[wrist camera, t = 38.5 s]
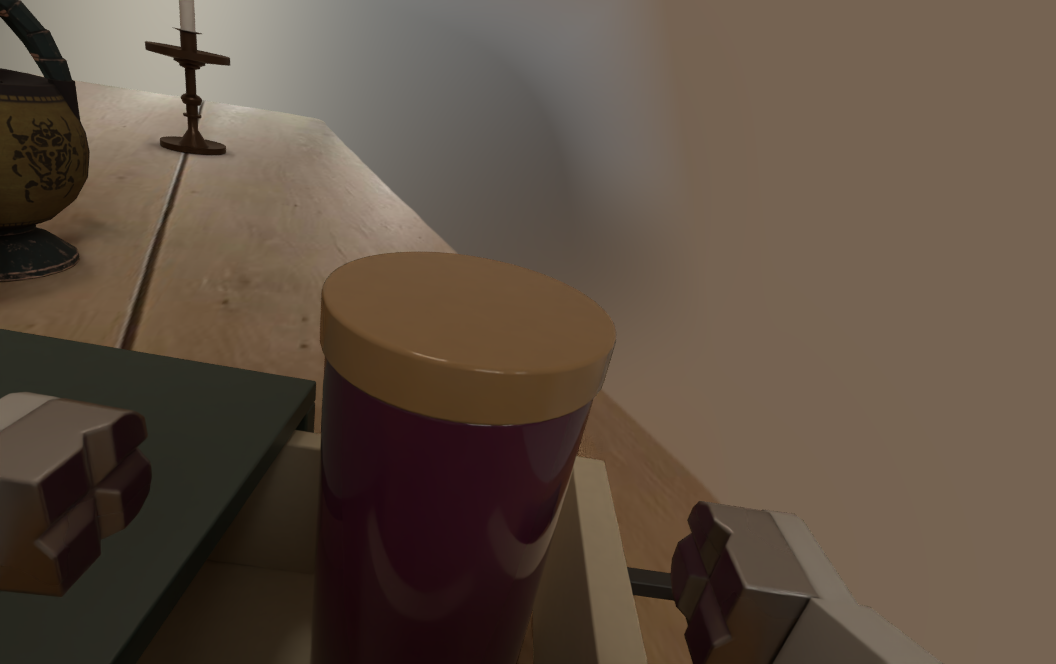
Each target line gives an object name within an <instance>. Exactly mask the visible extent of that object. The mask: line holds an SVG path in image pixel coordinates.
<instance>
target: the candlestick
mask: <svg viewBox="0 0 1056 664" xmlns="http://www.w3.org/2000/svg"><path fill="white" fill-rule="evenodd" d="M179 5H180V6H179V7H180V26H181V29H178V28H175V29H177V30H179V31H180V41H181V47H178V46H173V45H167V44H161V43H155V42H147V41H146V42H145V46H146V50H148V51H152V52H155V53H159V54H163V55H166V56H170V57H173V58H174V60H175V61H177V62H178V63H179V65H180V66H182V67H184V68H185V78H186V93H185V94H183V95H182V96H181V99H182V101H183V103H185V104H186V111H187V113H183V115H184V116H186V117H188V130H187V131H186V133H185V134H184V136H183V137H162V138H160V145H161V146H162V147H164V148H167V149H170V150H174V151H179V152H185V153H192V154H202V155H221V154H225V153H226V146H225V145H223V144H221V143H218V142H214V141H209V140H204V138H203V137H202V135H201V134H200V132H199V131H198V118H201V115H198V106H200V105H201V103H202V99H201V98H200V97H199V96H197V95H196V78H195V70H197V69H200V67H202V66H205V64H217V65H228V66H229V65H230V58H229V57H226V56H222V55H217V54H213V53H208V52H204V51H199V50H197V39H196V34H201V33H197V32H195V13H194V0H179Z"/></svg>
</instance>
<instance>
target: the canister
mask: <svg viewBox="0 0 1056 664" xmlns="http://www.w3.org/2000/svg"><path fill="white" fill-rule="evenodd" d="M615 343H616V330H615V326H614V323H613V321H612V320H611V318H610V316H609V315H608V314H607V313H606V311H605V310H604V309H603V308H602V307H601V306H600V305H598V304H597V303H596V302H595V301H593V300H592V299H591V298H589V297H588V296H586V295H585V294H583V293H582V292H580V291H578V290H576V289H575V288H573V287H571V286H569V285H567V284H565V283H563V282H560V281H558V280H556V279H554V278H551V277H549V276H546V275H544V274H541V273H538V272H535V271H532V270H529V269H526V268H523V267H519V266H516V265H512V264H508V263H504V262H500V261H495V260H491V259H486V258H480V257H475V256H468V255H461V254H452V253H440V252H396V253H387V254H379V255H373V256H368V257H364V258H360V259H357V260H354V261H351V262H348V263H346V264H344V265H342V266H340V267H338V268H337V269H336V270H334V271H333V272H332V273H331V274H330V275H329V276H328V278H327V279H326V280H325V282H324V285H323V288H322V293H321V315H320V344H321V347H322V351H323V353H324V355H325V359H324V379H323V399H322V420H321V440H320V460H319V481H318V501H317V521H316V541H315V562H314V582H313V602H312V623H311V643H310V663H309V664H517V661H518V658H519V654H520V651H521V647H522V644H523V641H524V637H525V634H526V630H527V627H528V623H529V620H530V616H531V613H532V609H533V606H534V603H535V599H536V596H537V592H538V589H539V585H540V582H541V578H542V575H543V571H544V568H545V565H546V561H547V558H548V554H549V551H550V547H551V544H552V540H553V537H554V533H555V530H556V527H557V523H558V520H559V516H560V513H561V509H562V506H563V502H564V499H565V496H566V492H567V489H568V485H569V482H570V478H571V475H572V471H573V468H574V464H575V461H576V458H577V454H578V451H579V447H580V444H581V440H582V437H583V433H584V430H585V426H586V423H587V420H588V416H589V413H590V409H591V406H592V402H593V399H594V397H595V396H596V395H597V394H598V392H599V391H600V390H601V388H602V385H603V383H604V380H605V377H606V373H607V370H608V367H609V363H610V360H611V356H612V353H613V350H614V346H615Z"/></svg>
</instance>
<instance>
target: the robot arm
mask: <svg viewBox="0 0 1056 664" xmlns="http://www.w3.org/2000/svg"><path fill="white" fill-rule="evenodd" d="M147 437H148V433H147V427H146V421H145V417H144V416H142V415H141V414H139V413H138V412H136V411H133V410H128V409H122V408H117V407H111V406H106V405H100V404H94V403H89V402H83V401H78V400H72V399H67V398H58V397H53V396H47V395H42V394H36V393H30V392H19V393H10V394H8V395H6V396H4V397H3V398H1V399H0V591H5V592H15V593H25V594H35V595H45V596H55V597H62V596H63V595H64V594H65V593H66V592H67V591H68V590H69V589H70V588H71V587H72V586H73V585H74V583H75V582H76V581H77V580H78V579H79V578H80V577H81V576H82V575H83V574H84V573H85V572H86V571H87V569H88V568H89V567H90V566H91V565H92V564H93V563H94V562H95V561H96V560H97V559H98V558H99V557H100V555H101V540H102V539H104V538H106V537H109V536H111V535H113V534H115V533H117V532H119V531H121V530H124V529H125V528H126V527H127V526H128V525H129V524H130V523H131V521H132V520H133V519H134V518H135V517H136V516H137V515H138V513H139V512H140V510H141V508H142V506H143V504H144V502H145V500H146V498H147V496H148V494H149V491H150V485H151V480H152V470H151V462H150V461H149V460H148V458H147V457H146V456H145V455H144V454H143V453H142V451H141V450H140V449H139V448H138V447H139V446H140V445H141V444H142V443H143V442H144V441H145V439H146V438H147ZM687 521H688V524H689V526H690V529H691V532H692V533H691V534H689V535H688V536H686V537H685V538H684V539H682V540H681V541H679V542H678V544H677V547H676V549H675V552H674V555H673V557H672V565H671V575H670V578H671V587H672V593H673V597H674V601H675V604H676V607H677V608H678V609H679V610H680V611H681V612H682V613H683V615H684V616H685V617H686V618H687V619H688V620H689V621H690V623H689V625H688V627H687V629H686V632H685V634H684V635H685V639H686V642H687V645H688V649H689V652H690V655H691V659H692V662H693V664H943V663H942V662H940V661H939V660H938V659H937V658H935V657H934V656H933V655H931V654H930V653H929V652H928V651H926V650H925V649H924V648H922V647H921V646H920V645H918V644H917V643H916V642H914V641H913V640H912V639H911V638H909V637H908V636H907V635H906V634H904V633H903V632H901V631H900V630H899V629H898V628H896V627H895V626H894V625H893V624H891V623H890V622H889V621H887V620H886V619H885V618H883V617H882V616H881V615H880V614H878V613H877V612H876V611H874V610H873V609H872V608H871V607H869V606H863V605H858V603H857V602H856V600H855V599H854V597H853V596H852V594H851V593H850V591H849V589H848V588H847V586H846V585H845V583H844V582H843V580H842V579H841V577H840V576H839V574H838V573H837V571H836V570H835V568H834V567H833V565H832V563H831V562H830V560H829V559H828V557H827V556H826V554H825V553H824V551H823V550H822V548H821V547H820V545H819V544H818V542H817V541H816V539H815V538H814V536H813V534H812V533H811V531H810V530H809V528H808V527H807V525H806V524H805V522H804V521H803V520H802V519H801V518H800V517H798V516H797V515H795V514H792V513H785V512H777V511H770V510H756V509H749V508H743V507H736V506H730V505H723V504H717V503H710V502H704V501H699V502H698V503H697V504H696V505H695V506H694V507H693V508H692V511H691V513H690V515H689V518H688V520H687Z"/></svg>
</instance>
